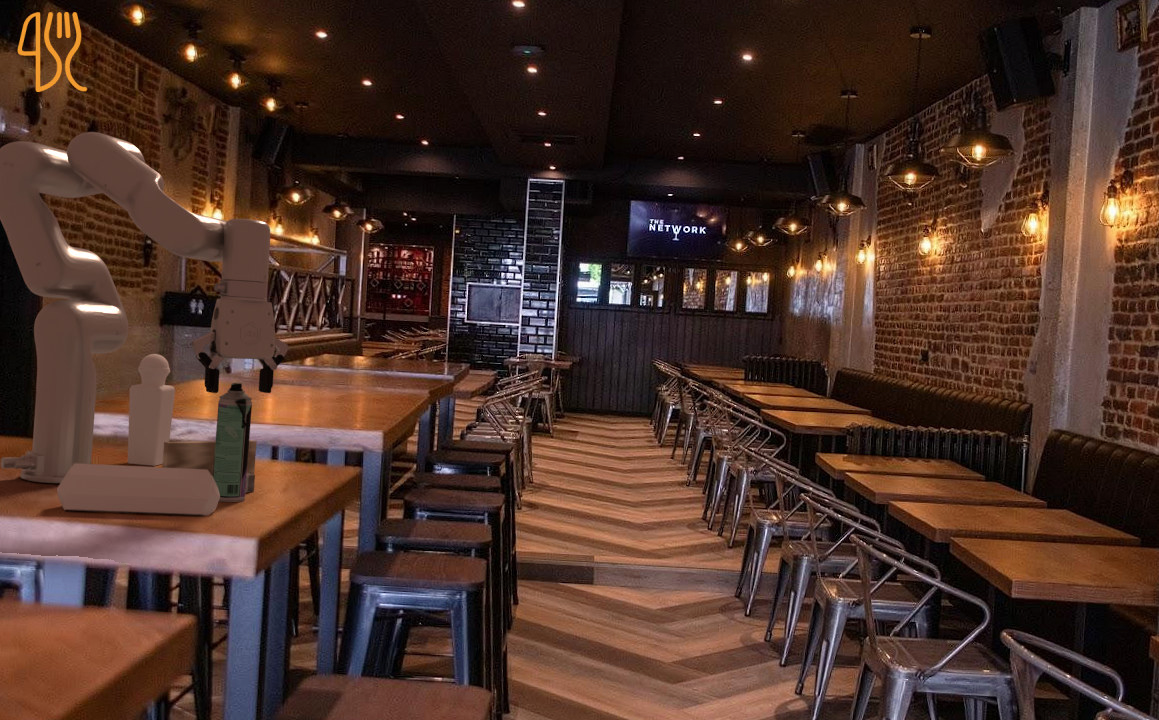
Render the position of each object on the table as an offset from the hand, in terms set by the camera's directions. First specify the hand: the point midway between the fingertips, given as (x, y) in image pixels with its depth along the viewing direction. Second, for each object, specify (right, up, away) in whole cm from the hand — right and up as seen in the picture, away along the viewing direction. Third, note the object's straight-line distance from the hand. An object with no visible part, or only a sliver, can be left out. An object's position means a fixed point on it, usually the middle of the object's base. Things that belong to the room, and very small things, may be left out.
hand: (238, 392), depth 178 cm
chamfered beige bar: (-11, -19, -14) cm, 26 cm away
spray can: (-2, -19, +1) cm, 19 cm away
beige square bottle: (-28, -15, +31) cm, 45 cm away
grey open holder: (-7, -18, +9) cm, 21 cm away
